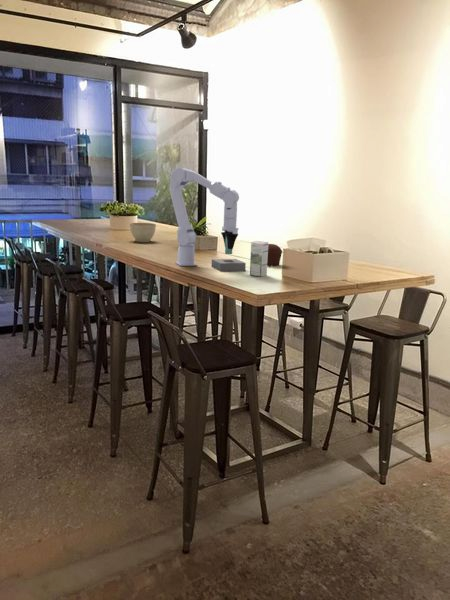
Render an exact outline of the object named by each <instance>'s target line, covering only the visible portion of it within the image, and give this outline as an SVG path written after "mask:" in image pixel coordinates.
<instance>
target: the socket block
mask: <svg viewBox="0 0 450 600" xmlns="http://www.w3.org/2000/svg"><path fill="white" fill-rule="evenodd" d="M210 266H211V268H213V269H214V270H217V271H219V272H239V271H241V272H242V271H243V272H245V271H246V262H244V261H242V260H239V259H238V258H214V259H213V258H212V259H211V265H210Z"/></svg>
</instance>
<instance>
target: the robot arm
mask: <svg viewBox="0 0 450 600" xmlns="http://www.w3.org/2000/svg"><path fill="white" fill-rule="evenodd" d="M189 182H195V183H197V184H199V185H201V186H203V187H204V188H206V189H208V190H209V193H210V194H212V195H213V196H214V197H217V198H219V199H220V200H222V201H223V202H224V205H223V226H221V231H222V232H220V234H221V236H222V238H223V245H225V242H226V237H227V245H228V249H232V250H234V245H235V242H236V240H237V238H238V236H239V227H237V220H238V219H237V216H238V214H237V213H238V201H239V199H240V194H239V193H238V192H237V191H236V190H234V189H233V190H232V189H231V187H227V186H225V185H224V184H222V182H221V181H213V182H212V181H211V180H209V179H208V178H206V177H204V176H203V175H201V174H199V173H198V172H196V171H195V170H193V169H192V170H191V169H190V168H187V167H185V168H183V167H175V168H173V171H172V172H171V173H170V182H169V187H168V190H169V195H170V198H171V202H172V206H173V210H174V214H175V219H176V222H177V225H178V227H177V230H176V232H177V238H176V240H177V243H178V246H179V247H178V248H177V257H176V258H177V261H175V264H177V265H179V266H181V267H185V266H187V267H189V266H194V267H195V266H198V264H197V263H195V249H196V248H195V246H196V245H195V243H196V241H197V239H198V238H197V234H196V232H195V231H194V227H193V226H192V225H191V223H190V220H189V216H188V212H187V208H186V207H187V206H186V204H185V200H184V195H183V192H182V191H183V188H184V187H185V186H186V185H187V184H188V183H189Z"/></svg>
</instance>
